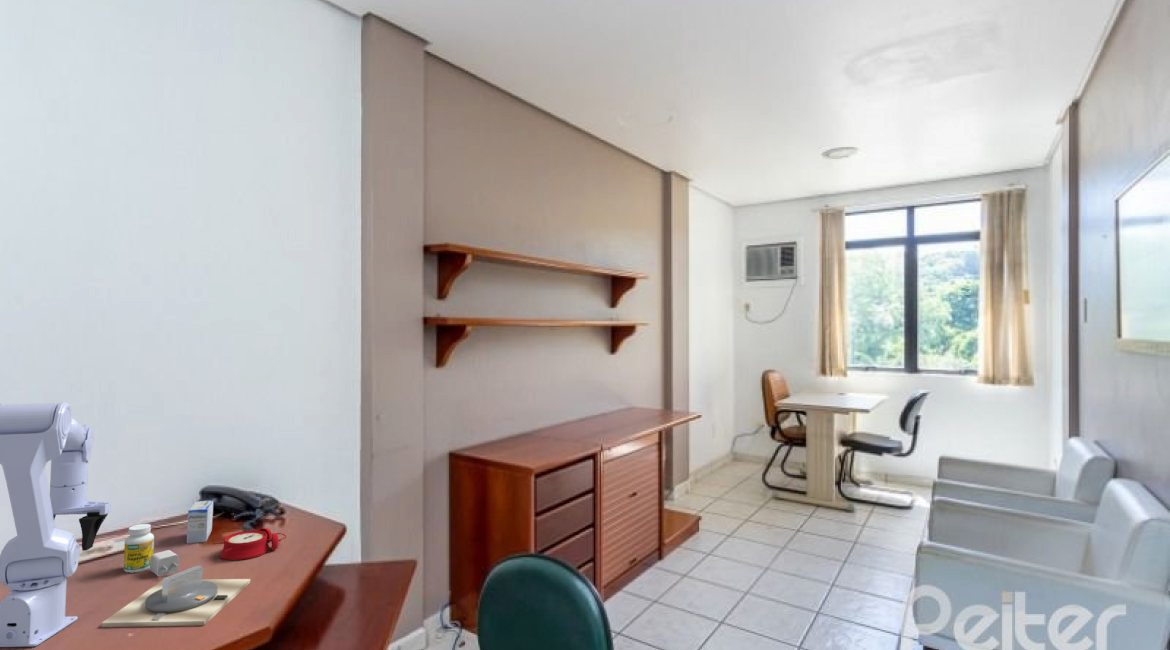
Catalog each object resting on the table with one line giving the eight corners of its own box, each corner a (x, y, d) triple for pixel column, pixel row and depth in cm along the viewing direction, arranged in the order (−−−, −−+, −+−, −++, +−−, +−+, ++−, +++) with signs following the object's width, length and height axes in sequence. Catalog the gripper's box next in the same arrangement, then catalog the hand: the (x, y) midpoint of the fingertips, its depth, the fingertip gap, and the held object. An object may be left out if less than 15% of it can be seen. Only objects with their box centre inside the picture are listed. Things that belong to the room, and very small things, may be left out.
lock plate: (204, 625, 107) (204, 618, 107) (101, 627, 105) (101, 620, 105) (250, 582, 125) (250, 577, 125) (162, 583, 123) (163, 577, 123)
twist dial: (231, 591, 119) (232, 566, 119) (172, 617, 107) (173, 590, 108) (190, 580, 123) (191, 556, 123) (130, 605, 112) (131, 578, 112)
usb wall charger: (170, 566, 132) (171, 549, 132) (182, 574, 128) (183, 557, 128) (149, 572, 129) (150, 554, 129) (161, 580, 124) (162, 562, 125)
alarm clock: (209, 539, 140) (272, 512, 151) (214, 562, 141) (277, 534, 152) (224, 551, 133) (289, 521, 144) (230, 575, 134) (294, 544, 145)
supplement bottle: (154, 561, 134) (155, 521, 134) (152, 570, 129) (153, 528, 129) (124, 566, 131) (126, 524, 131) (121, 575, 126) (123, 532, 126)
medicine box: (192, 533, 152) (193, 501, 152) (212, 531, 154) (213, 499, 154) (186, 544, 145) (187, 510, 145) (206, 542, 147) (208, 508, 147)
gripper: (121, 477, 122) (118, 540, 122) (42, 478, 119) (39, 543, 119) (99, 487, 115) (96, 553, 115) (16, 488, 112) (13, 556, 112)
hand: (66, 549), depth 117 cm, fingers open, 7 cm apart
